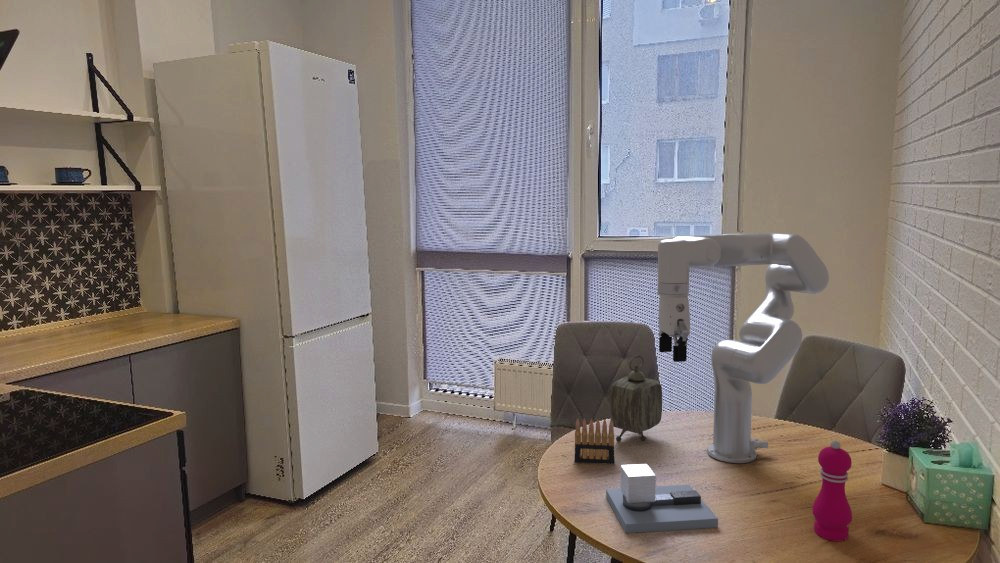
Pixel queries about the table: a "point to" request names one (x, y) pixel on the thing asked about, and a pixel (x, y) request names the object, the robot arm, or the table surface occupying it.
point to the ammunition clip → (593, 451)
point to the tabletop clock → (635, 402)
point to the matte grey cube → (638, 483)
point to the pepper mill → (833, 494)
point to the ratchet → (666, 500)
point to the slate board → (662, 513)
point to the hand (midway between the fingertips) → (672, 356)
